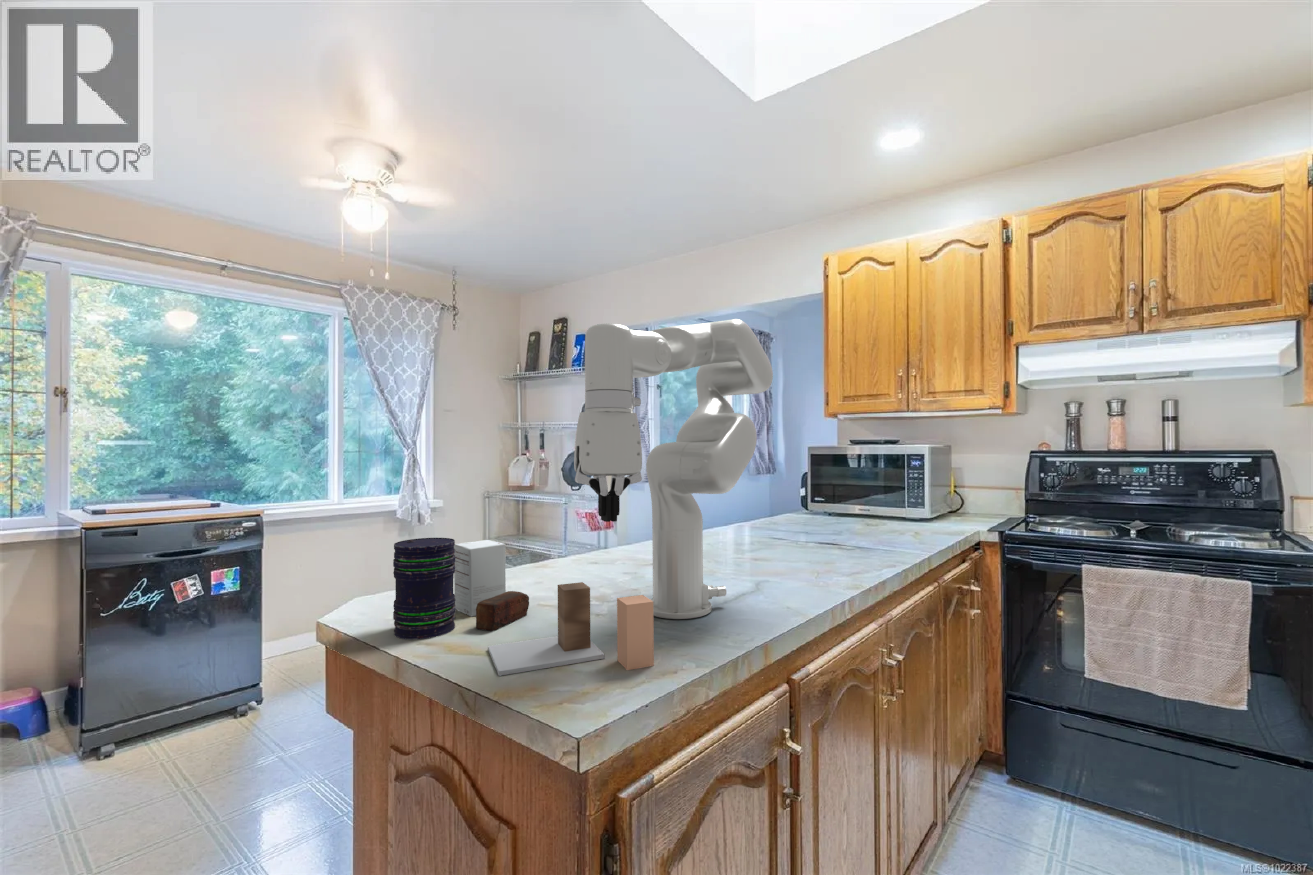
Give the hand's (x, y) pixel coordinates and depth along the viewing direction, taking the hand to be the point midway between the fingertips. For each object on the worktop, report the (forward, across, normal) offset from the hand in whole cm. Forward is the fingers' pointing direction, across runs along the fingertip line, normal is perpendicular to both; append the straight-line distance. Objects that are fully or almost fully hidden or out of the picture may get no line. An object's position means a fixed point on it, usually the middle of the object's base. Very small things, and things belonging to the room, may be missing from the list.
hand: (608, 520), depth 90 cm
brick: (+20, +13, -20) cm, 31 cm away
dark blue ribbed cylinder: (+20, +26, -20) cm, 38 cm away
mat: (+19, +10, 0) cm, 22 cm away
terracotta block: (+19, -1, +9) cm, 21 cm away
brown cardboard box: (+19, +6, 0) cm, 20 cm away
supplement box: (+20, +16, -29) cm, 39 cm away
